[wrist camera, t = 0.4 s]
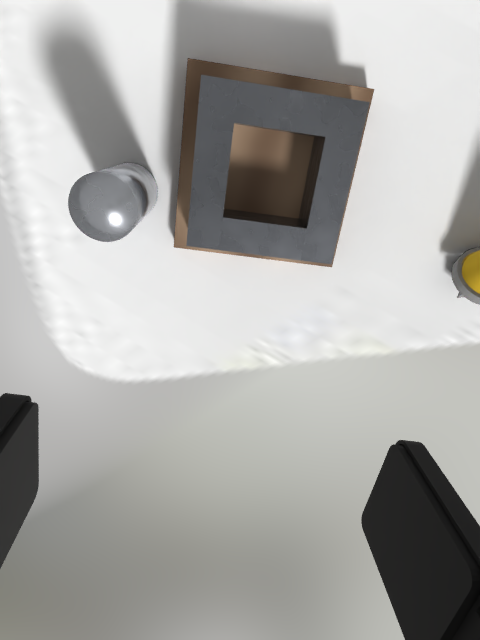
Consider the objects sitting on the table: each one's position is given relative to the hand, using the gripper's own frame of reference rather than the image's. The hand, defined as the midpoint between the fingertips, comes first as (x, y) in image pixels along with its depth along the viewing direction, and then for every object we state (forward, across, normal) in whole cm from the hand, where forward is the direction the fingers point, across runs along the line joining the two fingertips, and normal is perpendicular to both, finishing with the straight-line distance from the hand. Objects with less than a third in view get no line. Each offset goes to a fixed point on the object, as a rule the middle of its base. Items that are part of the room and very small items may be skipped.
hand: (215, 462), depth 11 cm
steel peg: (+28, +8, -2) cm, 29 cm away
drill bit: (+28, -24, -2) cm, 37 cm away
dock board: (+28, -3, -6) cm, 29 cm away
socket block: (+26, -3, -6) cm, 27 cm away
